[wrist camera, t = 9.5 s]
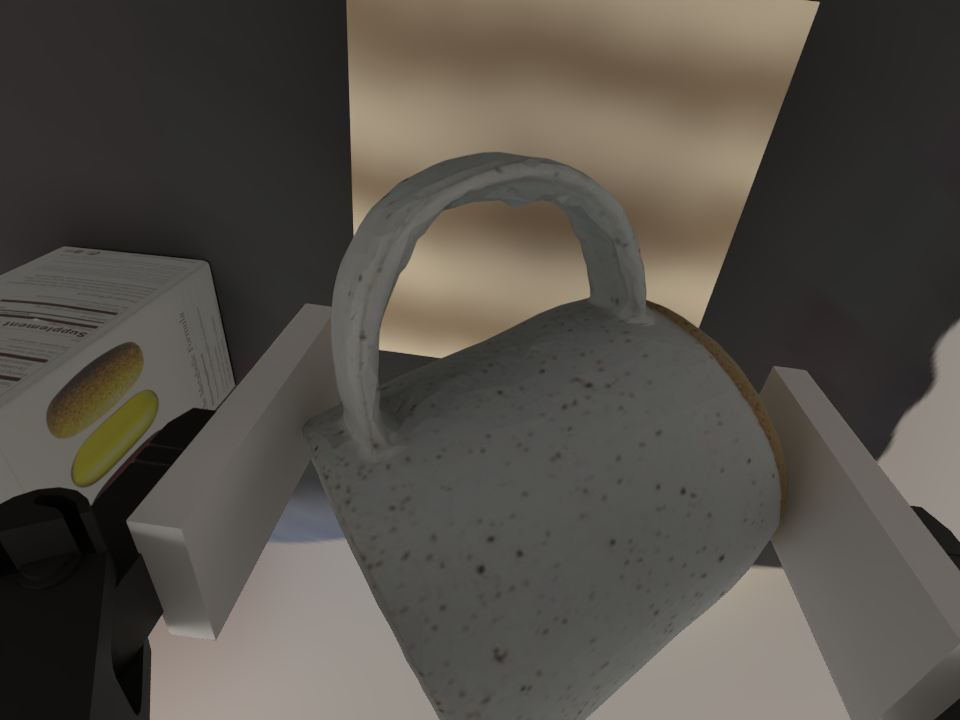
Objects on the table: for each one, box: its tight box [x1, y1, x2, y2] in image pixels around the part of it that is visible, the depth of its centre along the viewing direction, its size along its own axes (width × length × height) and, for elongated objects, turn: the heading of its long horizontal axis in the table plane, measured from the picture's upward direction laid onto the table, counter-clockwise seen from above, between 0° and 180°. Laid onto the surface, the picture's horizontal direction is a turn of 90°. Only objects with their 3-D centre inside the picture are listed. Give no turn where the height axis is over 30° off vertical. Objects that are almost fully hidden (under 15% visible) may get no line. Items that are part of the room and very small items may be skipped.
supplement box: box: [0, 246, 235, 505], centre depth 27 cm, size 10×9×17 cm
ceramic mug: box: [303, 152, 788, 720], centre depth 11 cm, size 11×8×8 cm
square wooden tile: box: [346, 0, 820, 358], centre depth 26 cm, size 18×18×3 cm
